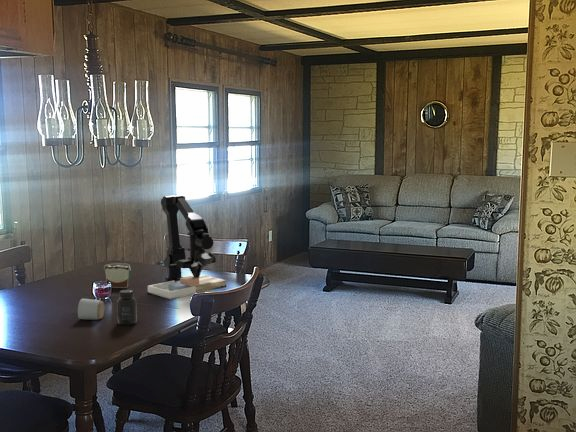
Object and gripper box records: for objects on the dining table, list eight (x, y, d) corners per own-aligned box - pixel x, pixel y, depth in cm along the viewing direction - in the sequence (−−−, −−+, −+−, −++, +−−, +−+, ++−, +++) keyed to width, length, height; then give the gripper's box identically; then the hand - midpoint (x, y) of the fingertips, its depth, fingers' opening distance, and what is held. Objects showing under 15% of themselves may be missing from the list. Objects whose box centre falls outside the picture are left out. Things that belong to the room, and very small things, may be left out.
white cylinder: (99, 322, 237) (99, 301, 236) (77, 321, 237) (76, 301, 236) (108, 314, 247) (107, 294, 247) (86, 314, 248) (86, 294, 247)
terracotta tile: (180, 283, 286) (180, 278, 285) (190, 281, 290) (190, 275, 290) (188, 285, 282) (188, 280, 281) (199, 283, 286) (199, 278, 286)
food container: (135, 284, 294) (134, 263, 292) (130, 288, 288) (130, 266, 286) (109, 284, 295) (108, 262, 294) (104, 287, 289) (103, 265, 288)
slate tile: (168, 290, 282) (168, 284, 281) (179, 287, 286) (179, 282, 286) (177, 292, 278) (177, 287, 277) (188, 290, 282) (187, 284, 282)
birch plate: (175, 287, 289) (175, 281, 289) (206, 280, 302) (206, 275, 302) (195, 292, 280) (194, 287, 280) (226, 285, 293) (226, 280, 293)
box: (147, 292, 280) (147, 285, 279) (173, 287, 290) (173, 280, 289) (169, 299, 269) (169, 292, 269) (195, 293, 279) (195, 286, 279)
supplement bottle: (140, 321, 237) (140, 290, 236) (129, 326, 231) (128, 294, 230) (125, 319, 240) (125, 288, 239) (113, 324, 234) (112, 292, 233)
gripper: (191, 251, 275) (191, 287, 277) (223, 245, 288) (224, 279, 290) (175, 248, 282) (175, 282, 284) (207, 242, 296) (208, 275, 298)
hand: (196, 280), depth 289 cm, fingers closed
